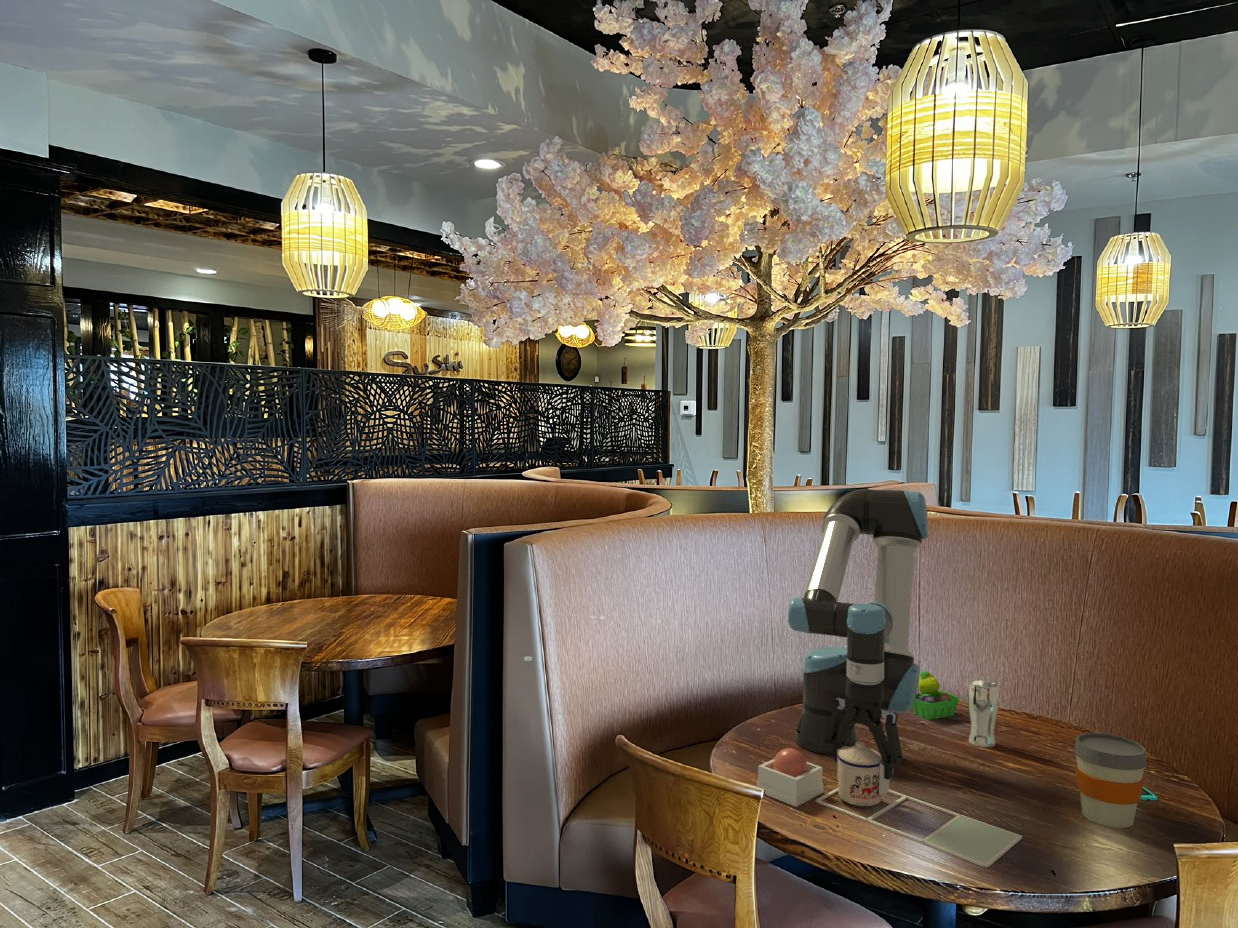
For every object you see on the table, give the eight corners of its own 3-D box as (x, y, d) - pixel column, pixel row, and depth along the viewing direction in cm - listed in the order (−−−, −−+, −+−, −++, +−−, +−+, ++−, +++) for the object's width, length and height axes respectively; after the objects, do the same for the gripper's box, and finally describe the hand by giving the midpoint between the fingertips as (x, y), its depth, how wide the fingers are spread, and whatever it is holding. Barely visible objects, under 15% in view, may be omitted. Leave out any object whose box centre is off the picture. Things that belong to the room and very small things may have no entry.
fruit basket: (927, 722, 222) (928, 680, 221) (904, 711, 230) (905, 671, 229) (960, 717, 226) (962, 676, 225) (937, 707, 234) (938, 667, 234)
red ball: (766, 781, 178) (767, 748, 178) (785, 772, 183) (786, 740, 182) (794, 791, 173) (795, 758, 173) (813, 782, 178) (814, 749, 177)
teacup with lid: (849, 809, 169) (850, 753, 168) (829, 789, 178) (830, 736, 177) (903, 804, 171) (904, 748, 170) (881, 784, 180) (882, 732, 179)
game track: (814, 801, 173) (815, 799, 173) (855, 779, 185) (856, 777, 185) (987, 868, 148) (987, 866, 148) (1022, 837, 159) (1022, 835, 159)
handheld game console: (1116, 771, 192) (1116, 765, 192) (1159, 803, 176) (1159, 796, 176) (1072, 770, 192) (1072, 765, 192) (1111, 802, 176) (1111, 795, 176)
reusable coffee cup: (1114, 801, 175) (1116, 731, 174) (1159, 830, 163) (1162, 754, 162) (1058, 804, 174) (1061, 733, 173) (1100, 833, 161) (1103, 757, 161)
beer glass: (999, 741, 208) (1001, 682, 208) (994, 750, 202) (996, 689, 202) (969, 735, 212) (971, 677, 211) (964, 744, 206) (966, 684, 206)
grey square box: (756, 791, 178) (757, 765, 178) (783, 777, 185) (784, 753, 185) (796, 806, 171) (796, 780, 171) (823, 792, 178) (823, 767, 178)
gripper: (809, 671, 179) (807, 774, 180) (905, 696, 163) (902, 808, 164) (829, 664, 184) (826, 764, 185) (923, 688, 168) (920, 797, 169)
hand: (862, 785), depth 175 cm, fingers closed on teacup with lid, 9 cm apart
